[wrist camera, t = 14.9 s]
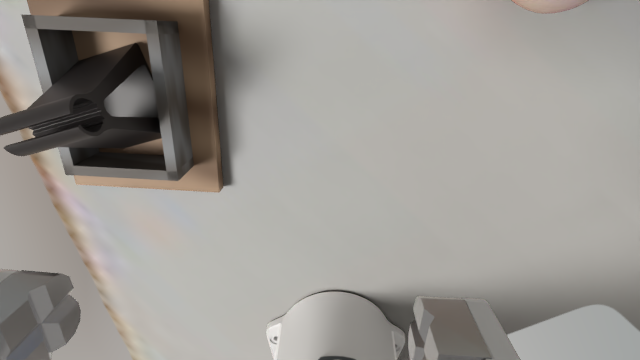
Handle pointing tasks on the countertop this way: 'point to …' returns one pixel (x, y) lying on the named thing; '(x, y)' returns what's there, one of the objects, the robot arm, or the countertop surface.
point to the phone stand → (92, 106)
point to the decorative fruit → (549, 5)
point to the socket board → (168, 77)
